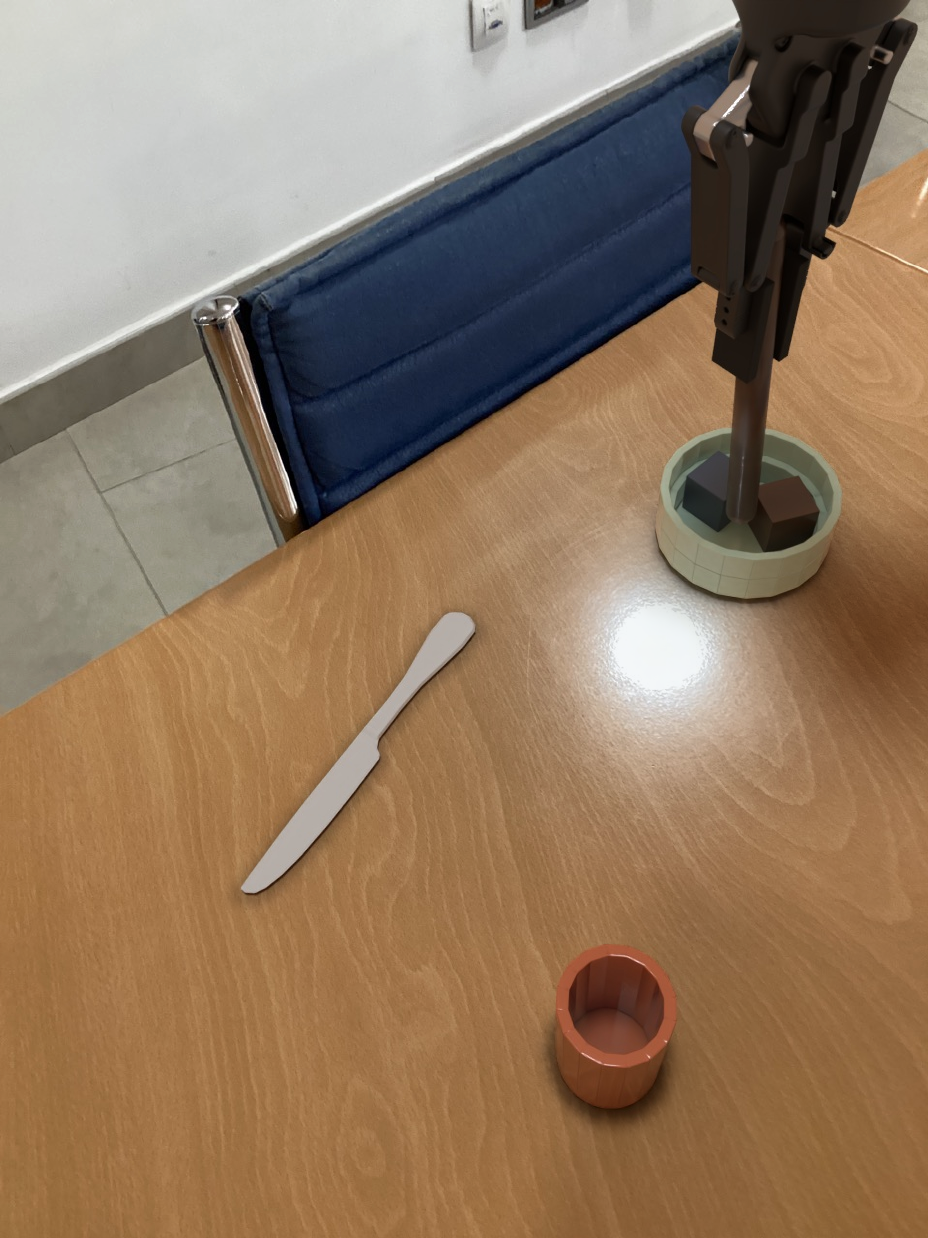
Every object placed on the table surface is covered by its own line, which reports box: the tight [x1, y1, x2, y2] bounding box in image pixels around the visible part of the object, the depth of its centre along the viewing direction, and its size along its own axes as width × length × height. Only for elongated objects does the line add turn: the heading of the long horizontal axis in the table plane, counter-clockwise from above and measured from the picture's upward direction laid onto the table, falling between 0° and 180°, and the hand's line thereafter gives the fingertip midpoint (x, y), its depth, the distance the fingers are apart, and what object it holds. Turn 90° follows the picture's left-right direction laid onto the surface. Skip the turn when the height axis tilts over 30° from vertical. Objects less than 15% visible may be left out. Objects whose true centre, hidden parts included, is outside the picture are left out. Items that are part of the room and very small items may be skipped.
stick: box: [726, 216, 787, 524], centre depth 62 cm, size 2×2×22 cm
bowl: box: [654, 426, 843, 600], centre depth 75 cm, size 12×12×5 cm
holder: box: [555, 943, 678, 1110], centre depth 54 cm, size 6×6×10 cm
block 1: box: [682, 451, 731, 532], centre depth 77 cm, size 4×4×4 cm
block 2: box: [747, 475, 820, 553], centre depth 75 cm, size 4×4×4 cm
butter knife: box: [240, 611, 476, 894], centre depth 69 cm, size 1×24×3 cm
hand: (749, 357), depth 61 cm, fingers closed on stick, 2 cm apart
